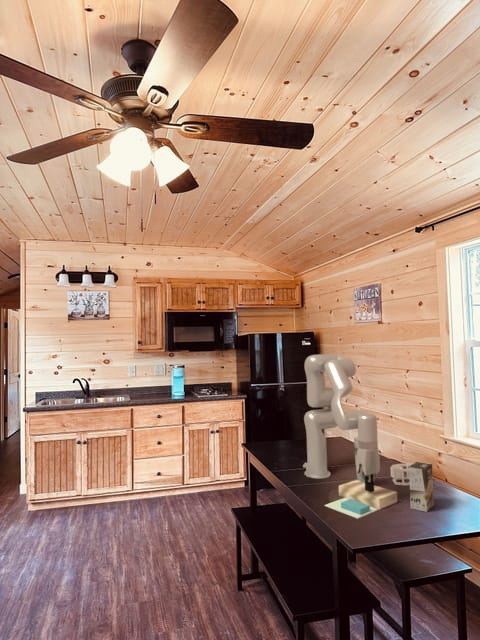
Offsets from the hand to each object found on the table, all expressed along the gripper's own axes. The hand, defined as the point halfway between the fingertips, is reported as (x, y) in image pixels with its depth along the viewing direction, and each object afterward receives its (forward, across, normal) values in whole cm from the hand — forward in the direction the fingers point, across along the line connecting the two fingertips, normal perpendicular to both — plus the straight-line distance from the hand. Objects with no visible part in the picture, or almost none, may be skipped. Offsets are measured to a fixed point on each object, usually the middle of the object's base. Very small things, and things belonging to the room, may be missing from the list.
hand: (369, 490), depth 171 cm
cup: (+5, -17, -15) cm, 24 cm away
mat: (+5, +10, -2) cm, 11 cm away
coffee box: (+5, -13, +15) cm, 20 cm away
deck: (+5, -4, -4) cm, 7 cm away
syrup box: (+5, -40, -35) cm, 53 cm away
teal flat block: (+3, +10, +1) cm, 10 cm away
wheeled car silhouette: (+5, -38, -5) cm, 39 cm away
